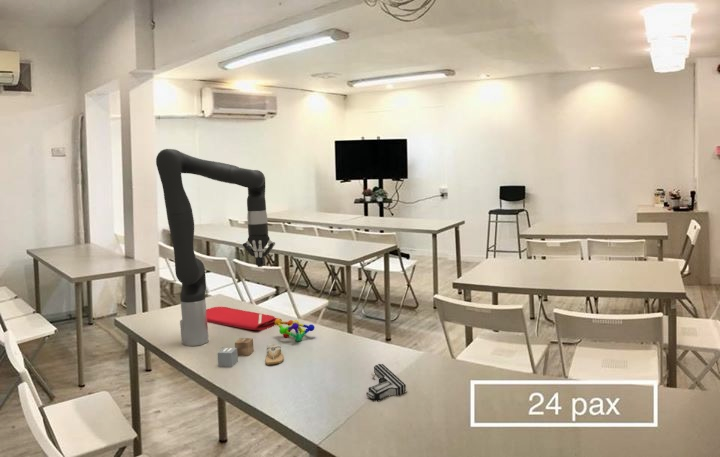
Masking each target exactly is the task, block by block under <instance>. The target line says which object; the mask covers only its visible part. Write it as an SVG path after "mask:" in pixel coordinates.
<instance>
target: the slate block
mask: <svg viewBox="0 0 720 457" xmlns="http://www.w3.org/2000/svg"><path fill="white" fill-rule="evenodd" d="M238 362H239V356H238V354H237V348H235V347H222V349H220V350H219V351H218V352H217V365H218V367H219V366H220V368H221V367H225V368H233V367H234V366H235V365H236V364H237V363H238Z"/></svg>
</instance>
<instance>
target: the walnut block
mask: <svg viewBox="0 0 720 457" xmlns="http://www.w3.org/2000/svg"><path fill="white" fill-rule="evenodd" d="M234 348H237V354H238V357H249V356H251V355H252V353H253V352H254V351H255V349H254V338H252V337H239V338H238V339H237V340H236V341H234Z"/></svg>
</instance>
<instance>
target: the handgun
mask: <svg viewBox="0 0 720 457" xmlns="http://www.w3.org/2000/svg"><path fill="white" fill-rule="evenodd" d="M373 372H374V373H375V374H374V373H373ZM373 372H372V373H371V376H372V377H373V378H376V377H377V378H378V384H376V385H372V386H369V387H368V391H367V392H366V397H367V398H369V399H371V400H374V401H376V400H377V401H376V402H379V401H378V400H380V401H381V399H382V400H383V398H384V399H386V398H388V397H390V396H389V395H391V396H395V395H399V396H401V395H403V394H404V392H405V391H406V392H407V384H405V383H404V381H402V380H401V379H400V378H399V377H398V376H397V375H396V374H394V372H392V371H391V369H389V368H388V367H387V365H385V364H383V363H378V364H376V365H374V366H373ZM379 378H380V379H379ZM406 392H405V393H406ZM400 394H401V395H400ZM387 396H388V397H387ZM385 397H386V398H385Z"/></svg>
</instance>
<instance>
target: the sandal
mask: <svg viewBox="0 0 720 457" xmlns="http://www.w3.org/2000/svg"><path fill="white" fill-rule="evenodd" d="M266 352H267V355H266V357H265V359H264V362H265V365H268V366H269V365H270V366H271V365H277V364H281V363H283V362H284V358H285V357H284V354H283V353H282V346H281V345H280V344H269V345H267V346H266Z"/></svg>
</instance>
